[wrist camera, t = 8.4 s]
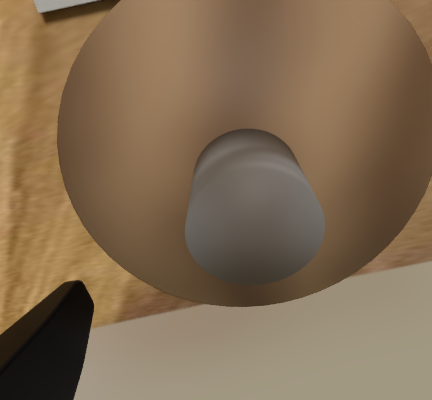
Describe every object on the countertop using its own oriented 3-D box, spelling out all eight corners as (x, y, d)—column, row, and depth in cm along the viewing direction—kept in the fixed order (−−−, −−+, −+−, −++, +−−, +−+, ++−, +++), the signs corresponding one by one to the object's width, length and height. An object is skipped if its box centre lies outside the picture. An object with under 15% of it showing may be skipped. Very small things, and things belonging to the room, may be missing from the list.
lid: (459, -99, 9) (643, -182, 5) (403, 272, 16) (463, 356, 12) (-3, 8, 10) (-136, 7, 6) (132, 306, 17) (107, 391, 13)
